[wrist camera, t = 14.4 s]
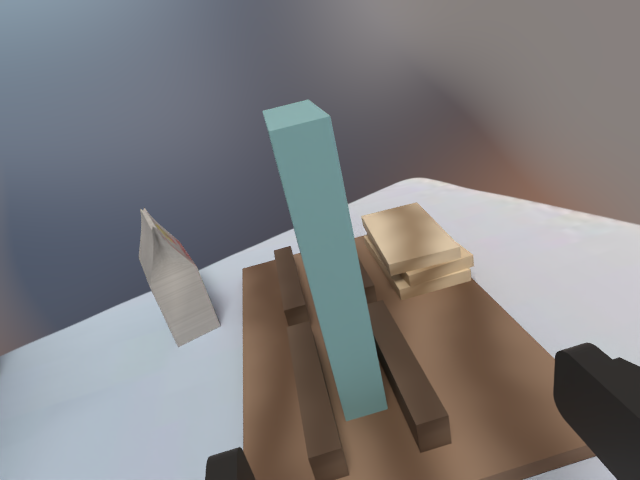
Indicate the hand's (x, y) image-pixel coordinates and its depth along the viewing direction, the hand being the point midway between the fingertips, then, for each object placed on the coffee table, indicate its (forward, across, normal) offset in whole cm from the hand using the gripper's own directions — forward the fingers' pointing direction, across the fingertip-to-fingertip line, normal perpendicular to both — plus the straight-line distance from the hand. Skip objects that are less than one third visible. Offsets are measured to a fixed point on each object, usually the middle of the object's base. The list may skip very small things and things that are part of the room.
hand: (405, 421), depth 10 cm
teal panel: (+12, 0, +10) cm, 16 cm away
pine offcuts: (+23, -8, +10) cm, 26 cm away
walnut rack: (+17, -2, +11) cm, 20 cm away
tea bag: (+25, +12, +11) cm, 30 cm away
